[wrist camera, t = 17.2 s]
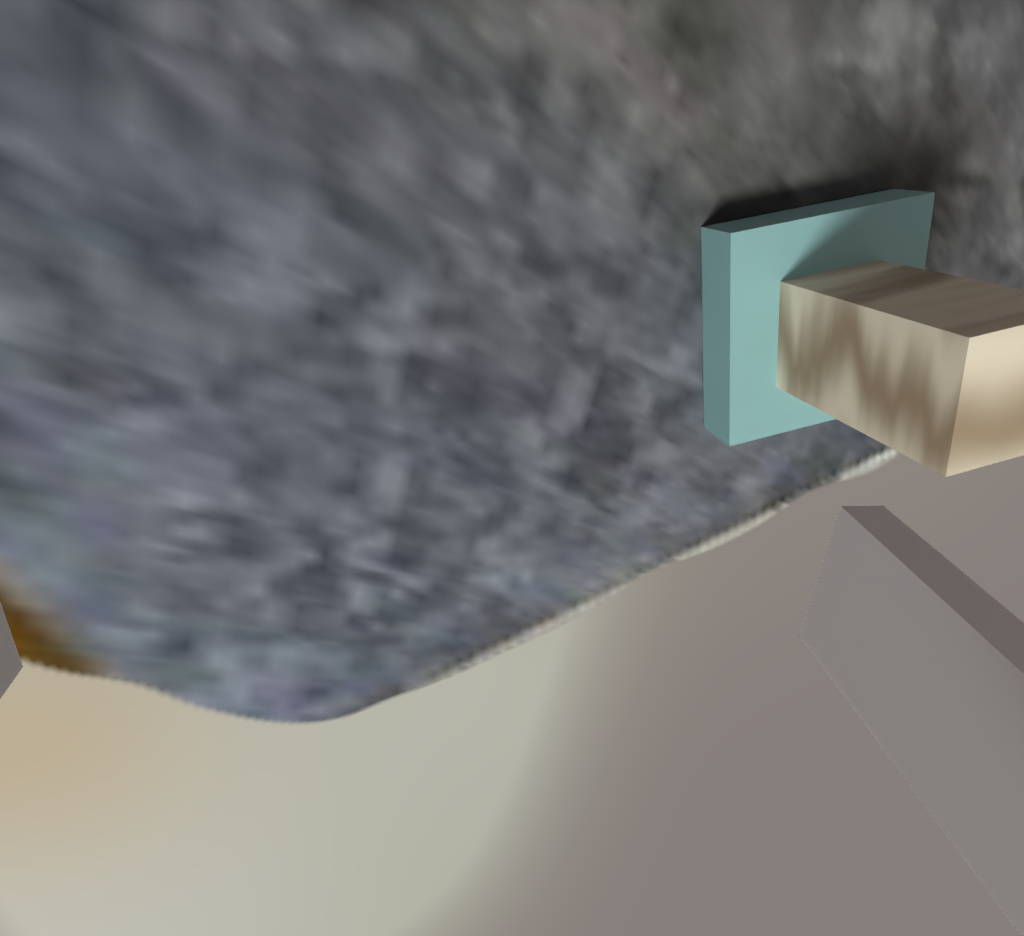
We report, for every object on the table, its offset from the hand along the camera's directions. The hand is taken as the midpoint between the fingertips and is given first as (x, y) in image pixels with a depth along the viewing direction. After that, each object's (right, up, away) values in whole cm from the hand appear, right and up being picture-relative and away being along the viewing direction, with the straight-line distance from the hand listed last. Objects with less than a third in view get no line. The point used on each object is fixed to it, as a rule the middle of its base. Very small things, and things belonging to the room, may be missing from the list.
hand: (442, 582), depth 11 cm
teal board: (+18, +11, +30) cm, 37 cm away
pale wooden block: (+19, +10, +27) cm, 34 cm away
